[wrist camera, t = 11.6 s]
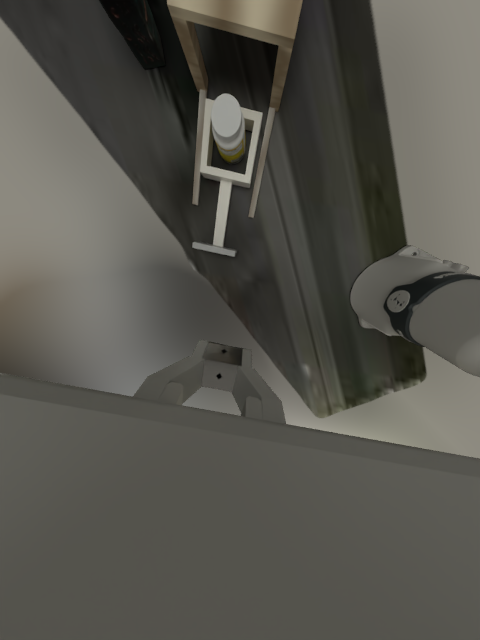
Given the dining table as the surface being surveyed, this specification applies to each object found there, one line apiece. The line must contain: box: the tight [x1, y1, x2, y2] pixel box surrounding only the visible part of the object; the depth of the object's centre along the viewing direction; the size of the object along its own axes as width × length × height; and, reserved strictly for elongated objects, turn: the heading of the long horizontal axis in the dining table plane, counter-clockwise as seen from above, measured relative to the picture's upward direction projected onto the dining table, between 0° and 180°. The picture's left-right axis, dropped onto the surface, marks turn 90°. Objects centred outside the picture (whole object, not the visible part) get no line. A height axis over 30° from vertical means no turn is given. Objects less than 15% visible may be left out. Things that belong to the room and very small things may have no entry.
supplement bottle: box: [211, 94, 246, 164], centre depth 26 cm, size 5×5×8 cm
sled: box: [192, 99, 263, 257], centre depth 30 cm, size 8×20×5 cm, turn 169°
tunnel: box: [167, 0, 303, 218], centre depth 22 cm, size 13×31×11 cm, turn 169°
